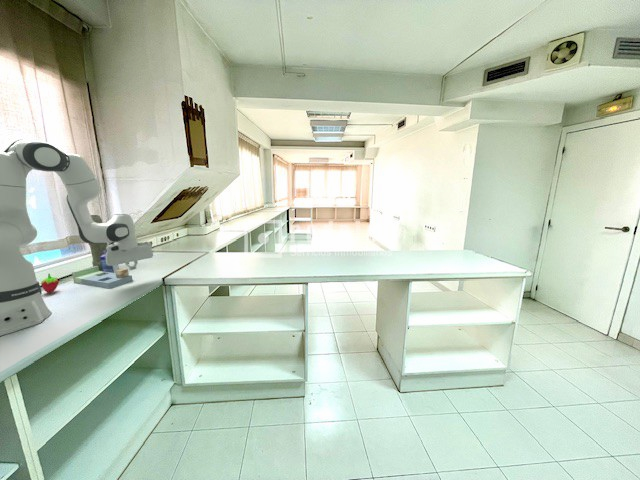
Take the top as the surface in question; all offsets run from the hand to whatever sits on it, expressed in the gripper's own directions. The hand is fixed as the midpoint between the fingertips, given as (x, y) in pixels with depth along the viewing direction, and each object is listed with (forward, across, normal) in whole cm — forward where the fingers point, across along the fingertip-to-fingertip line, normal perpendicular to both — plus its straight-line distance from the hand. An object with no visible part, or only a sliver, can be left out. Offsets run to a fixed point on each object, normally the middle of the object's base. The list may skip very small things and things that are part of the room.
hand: (132, 269), depth 136 cm
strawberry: (+7, +32, -16) cm, 36 cm away
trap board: (+7, +12, -16) cm, 22 cm away
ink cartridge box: (+8, +6, -31) cm, 32 cm away
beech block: (+5, +4, -7) cm, 10 cm away
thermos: (+8, +9, -41) cm, 43 cm away
